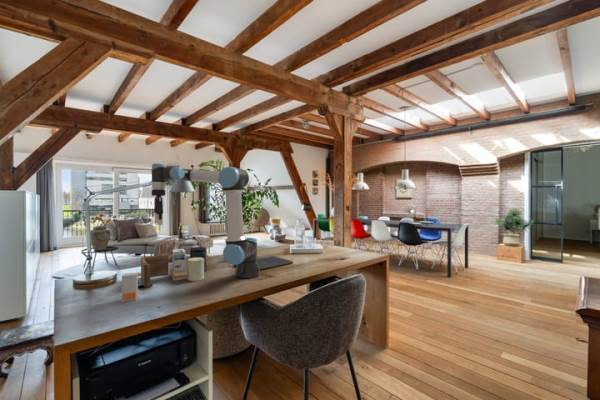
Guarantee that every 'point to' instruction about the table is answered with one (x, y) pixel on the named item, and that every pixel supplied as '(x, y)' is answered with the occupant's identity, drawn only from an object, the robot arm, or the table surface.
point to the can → (195, 269)
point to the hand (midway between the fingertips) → (158, 224)
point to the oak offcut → (179, 277)
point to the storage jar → (199, 254)
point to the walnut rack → (153, 268)
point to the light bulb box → (179, 259)
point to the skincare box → (129, 287)
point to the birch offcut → (178, 272)
